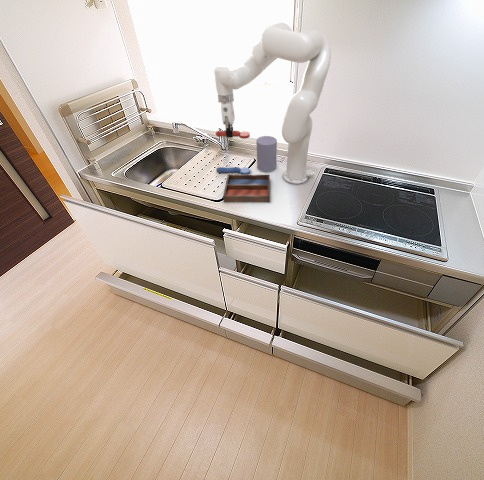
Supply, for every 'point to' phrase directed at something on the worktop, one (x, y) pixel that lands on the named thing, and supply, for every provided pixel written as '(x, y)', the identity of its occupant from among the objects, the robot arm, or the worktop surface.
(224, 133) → the red spoon
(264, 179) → the cutlery tray
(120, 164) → the worktop surface
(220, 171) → the blue spoon
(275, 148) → the container
